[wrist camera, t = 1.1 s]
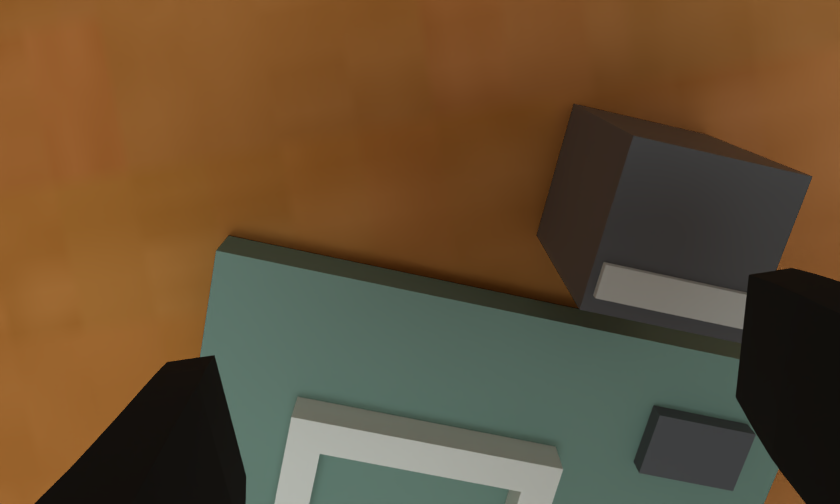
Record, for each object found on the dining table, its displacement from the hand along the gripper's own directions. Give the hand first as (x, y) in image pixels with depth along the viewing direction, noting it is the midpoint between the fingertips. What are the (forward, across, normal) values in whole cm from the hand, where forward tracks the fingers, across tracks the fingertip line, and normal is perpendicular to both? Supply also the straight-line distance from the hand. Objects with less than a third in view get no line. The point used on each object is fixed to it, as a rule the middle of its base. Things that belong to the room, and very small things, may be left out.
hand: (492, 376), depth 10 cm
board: (+11, -1, +12) cm, 16 cm away
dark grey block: (+12, -6, +2) cm, 13 cm away
